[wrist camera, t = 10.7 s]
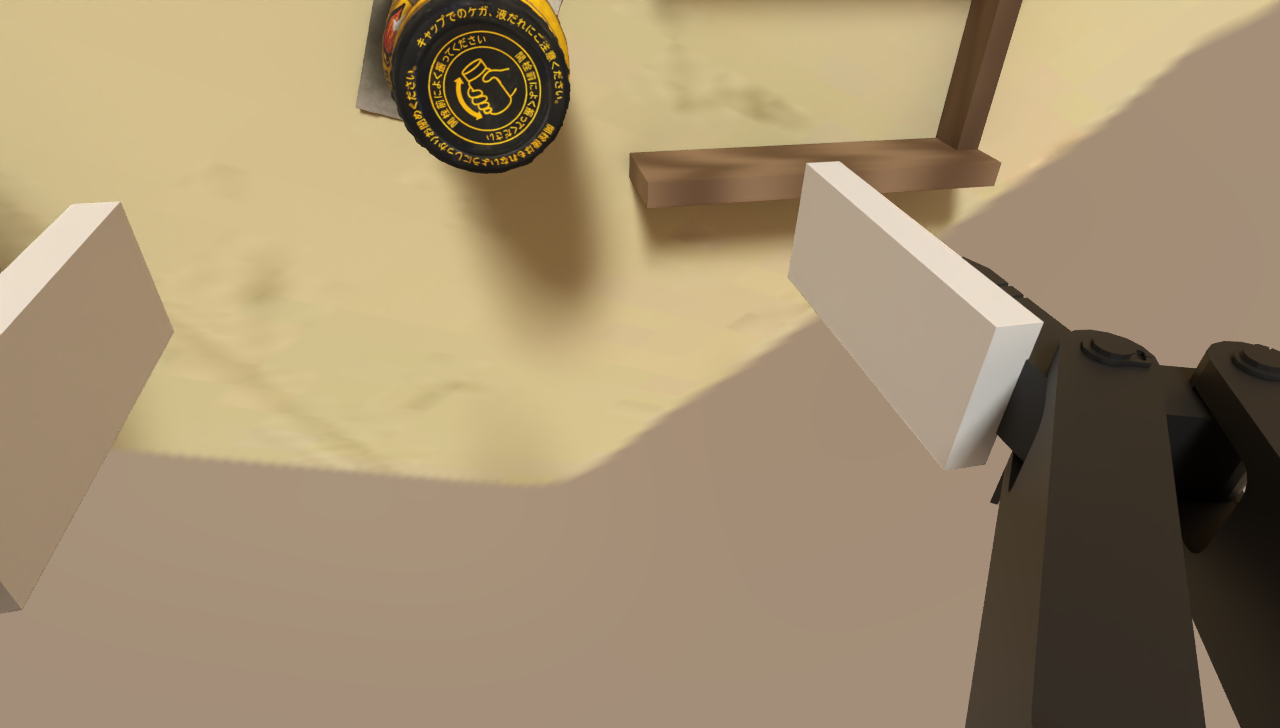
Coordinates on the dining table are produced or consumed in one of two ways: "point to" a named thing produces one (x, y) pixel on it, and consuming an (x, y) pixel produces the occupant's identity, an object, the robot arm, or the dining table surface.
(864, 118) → the dining table surface
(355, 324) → the dining table surface
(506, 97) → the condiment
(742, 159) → the walnut shelf lane
